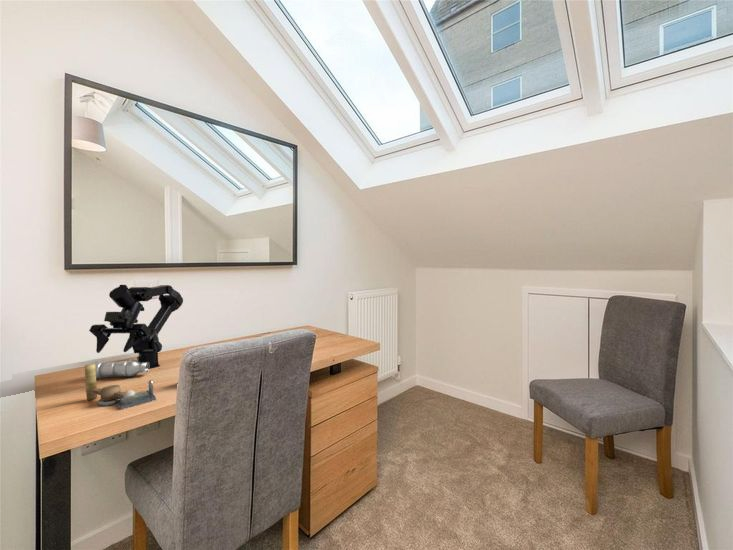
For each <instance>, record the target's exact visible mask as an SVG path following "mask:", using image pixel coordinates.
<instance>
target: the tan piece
mask: <svg viewBox="0 0 733 550" xmlns="http://www.w3.org/2000/svg"><path fill="white" fill-rule="evenodd" d="M89 364H90V365H89ZM89 364H86V365H84V373H85V375H84V376H85V390H86V391H85V393H86V400H95V399H97V398H98V396H100V399H101V400H102V401H108V400H113V399H116V398H119V397H124V399H126V400H131V399H132V398H134V396H135V393H136V391H134V390H133V389H127V390H125V391H121V385H119V384H114V385H107V386H104V387H102V388H99V387H97V379H96V367H95V364H91V363H89Z"/></svg>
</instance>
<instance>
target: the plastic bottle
mask: <svg viewBox="0 0 733 550" xmlns="http://www.w3.org/2000/svg"><path fill="white" fill-rule="evenodd" d="M90 364H95V367H96V380H100V379H103V378H111V377H125V378H129V377H130V378H132V377H135V376H136V375H138V374H139V373H147V372H149V370H150V368H149V363H148V362H142V363H140V362H139V361H137V359H127V360H123V361H122V360H121V361H111V362H109V361H108V362H107V361H105V362H104V361H94V362H93V361H92V362H91V363H89V364H88V365H90Z"/></svg>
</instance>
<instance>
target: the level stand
mask: <svg viewBox="0 0 733 550" xmlns="http://www.w3.org/2000/svg"><path fill="white" fill-rule="evenodd" d="M153 381H154V380H148V381H147V383H148V390H141V391H138V392H135V396H134V398H132V399H131V400H126V399H124V397H119V398H116V399H113V400H108V401H102V400H101V398H100V399H99V400H97V405H98V406H100V407H109V406H114V405H116V406H117V407H118V408H119V409H120V410H125V409H129V408H131V407H132V408H133V407H134V406H135V405H136V406H139V405H143V404H146V402H147V403H150V402H153V401H152V400H154V401H156V400H157V397H156V396H155V394H154V382H153ZM149 401H150V402H149ZM142 403H143V404H142ZM128 407H129V408H128ZM124 408H125V409H124Z"/></svg>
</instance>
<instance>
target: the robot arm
mask: <svg viewBox="0 0 733 550" xmlns="http://www.w3.org/2000/svg"><path fill="white" fill-rule="evenodd" d="M108 296H109V298H110V299H111V300H112V301H113V302H114V304H116V305H117V306H118V308H122V309H121V311H106V312H105V315H104V320H103V322H108V323H109V325H110V326H111V327H108V326H107V325H106V324H92V325H91V326H90V328H89V329H88V331H89V332H90V333H91V334H92V335H94V337H96V353H97V354H100V353H101V352H102V350H103V349H104V348H105V346H106V345H107V344H108V342H109V340H110V337H111V335H112V334H129V335H128V338H127V341H126V343H125V345H124V347H123V351H122V352H124V353H126V352H128V351H129V350H131V349H132V350H133V353H134V354H138V356H136V360H137V361H139V362H140V363H142V362H148V363H149V369H152V368H156V367H160V366H161V365H160V363H159V353H160V352H161V351H162V349H163V344H162V343H161V342H160V340H159V334H160V332H161V330H162V329H163V327H164V325H165V324H166V322H167V320H168V319H169V317H170V316H171V315H172V313H173V312H175V311H177V310H179V309H180V308H181V307H182V305H183V303H184V298H183V297H182V295H181V293H180V292H178V291H177V290H176V289H174V288H173V287H172V286H171V285H169V284H166V285H165V284H164V285H163V284H162V285H157V286H152V287H149V286H144V287H143V286H139V287H138V286H133V287H132V286H131V287H128V286H127V284H119V285H118V286H117V287H115V288H114V289H112V290H111V291H110V292H109V294H108ZM157 296H158V300H159V304H160V308H159V309H158V311H157V312H156V314H155V315H154V317H153V318H152V320H151V321H150V322H149V323H148V325H147V324H146V323H138V322H139V320H138V316H139V315H140V312H145V307H144V304H143V303H141V302H148V301H150V300H152V299H153V297H157Z"/></svg>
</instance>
